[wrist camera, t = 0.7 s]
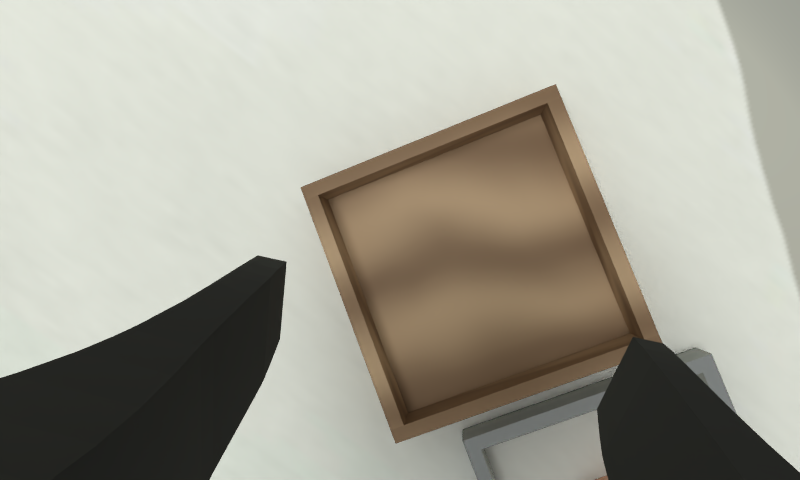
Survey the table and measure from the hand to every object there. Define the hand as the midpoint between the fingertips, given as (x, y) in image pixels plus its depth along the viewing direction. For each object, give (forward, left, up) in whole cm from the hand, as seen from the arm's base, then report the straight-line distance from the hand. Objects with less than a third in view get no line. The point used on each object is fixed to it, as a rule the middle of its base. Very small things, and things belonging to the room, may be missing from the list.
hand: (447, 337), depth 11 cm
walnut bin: (+1, -2, -22) cm, 22 cm away
